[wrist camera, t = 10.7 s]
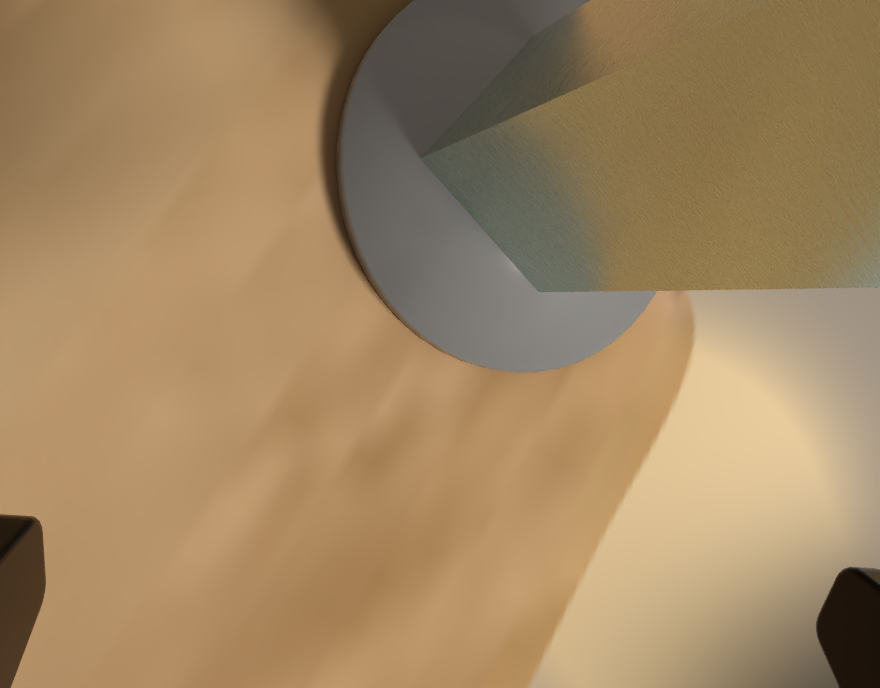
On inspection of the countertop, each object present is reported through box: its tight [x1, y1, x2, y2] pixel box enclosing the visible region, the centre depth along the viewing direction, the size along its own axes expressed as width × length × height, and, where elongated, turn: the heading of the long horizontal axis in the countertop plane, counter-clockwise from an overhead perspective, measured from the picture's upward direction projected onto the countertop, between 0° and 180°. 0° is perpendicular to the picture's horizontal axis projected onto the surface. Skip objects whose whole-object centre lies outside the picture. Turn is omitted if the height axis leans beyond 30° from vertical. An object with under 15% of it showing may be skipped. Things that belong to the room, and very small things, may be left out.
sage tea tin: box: [420, 0, 880, 292], centre depth 14 cm, size 5×5×14 cm
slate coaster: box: [336, 0, 657, 372], centre depth 20 cm, size 11×11×1 cm
